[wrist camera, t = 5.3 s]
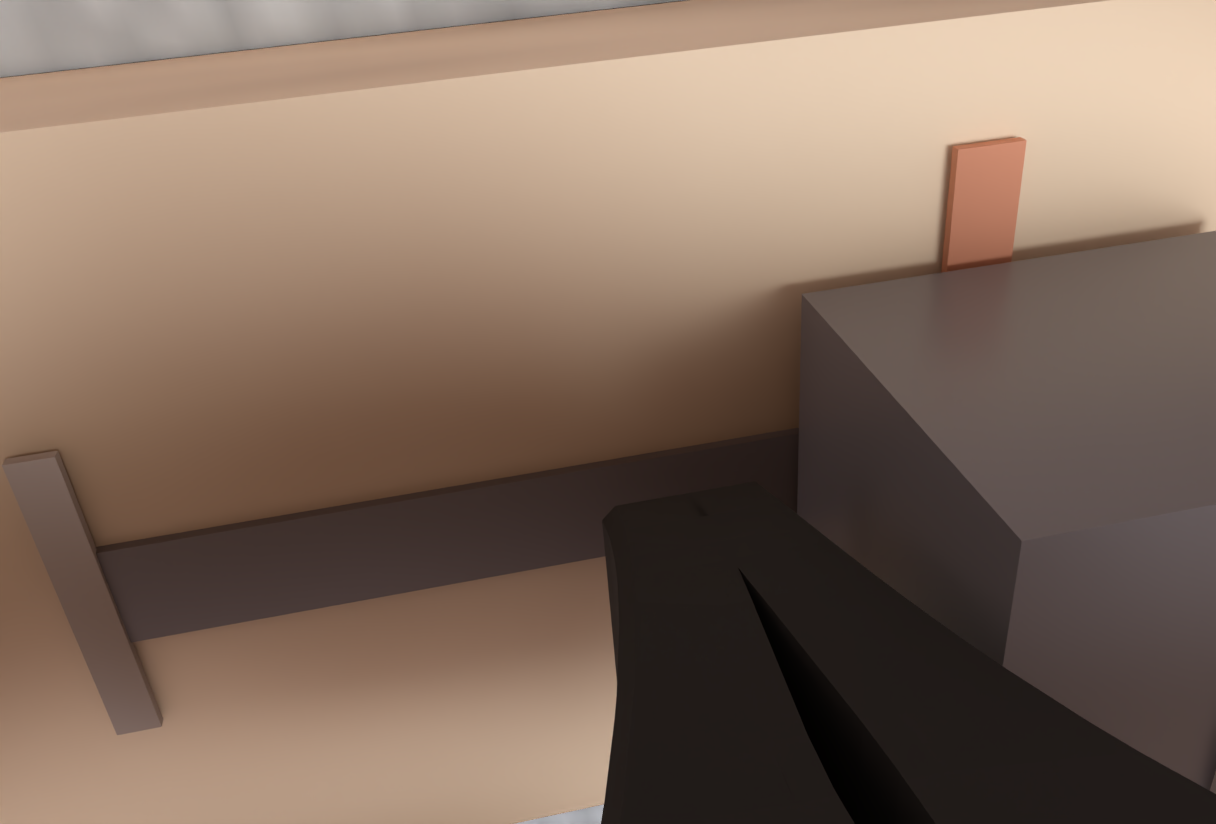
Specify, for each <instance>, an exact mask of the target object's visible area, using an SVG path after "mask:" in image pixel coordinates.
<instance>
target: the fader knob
mask: <svg viewBox="0 0 1216 824" xmlns="http://www.w3.org/2000/svg"><path fill="white" fill-rule="evenodd" d="M797 514H798V515H799V516H801V517H802V518H803V519H804V520H806V521H807V522H808V523H809V524H811V525H812V526H813V527H814V528H816V529H817V530H818V531H820V532H821V533H822V534H823V535H825V536H826V537H827V538H828V539H830V540H831V541H832V542H833V543H835V544H836V545H837V546H839V547H840V548H841V549H842V550H844V551H845V552H846V553H848V554H849V555H850V556H851V557H853V558H854V559H855V560H857V561H858V562H859V563H861V564H862V565H863V566H864V567H866V568H867V569H868V570H870V571H871V572H872V573H873V574H875V575H876V576H877V577H879V578H880V579H881V580H883V581H884V582H885V583H887V584H888V585H889V586H891V587H892V588H893V589H895V590H896V591H897V592H899V593H900V594H901V595H903V596H904V597H905V598H907V599H908V600H909V601H911V602H912V603H914V604H915V605H916V606H918V607H919V608H921V609H922V610H923V611H925V612H926V613H927V614H929V615H930V616H932V617H933V618H934V619H936V620H937V621H939V622H940V623H941V624H943V625H944V626H945V627H947V628H948V629H950V630H951V631H952V632H954V633H955V634H957V635H958V636H959V637H961V638H962V639H964V640H965V641H966V642H968V643H969V644H971V645H972V646H974V647H975V648H977V649H978V650H980V651H981V652H982V653H984V654H985V655H987V656H988V657H990V658H991V659H993V660H994V661H996V662H997V663H999V664H1000V665H1001V666H1003V667H1005V668H1006V669H1008V670H1009V671H1011V672H1012V673H1014V674H1015V675H1017V676H1019V677H1020V678H1022V679H1023V680H1025V681H1026V682H1028V683H1029V684H1031V685H1033V686H1034V687H1036V688H1037V689H1039V690H1040V691H1042V692H1043V693H1045V694H1047V695H1048V696H1050V697H1051V698H1053V699H1054V700H1056V701H1057V702H1059V703H1061V704H1062V705H1064V706H1065V707H1067V708H1068V709H1070V710H1071V711H1073V712H1075V713H1076V714H1078V715H1079V716H1081V717H1082V718H1084V719H1086V720H1087V721H1089V722H1091V723H1092V724H1094V725H1095V726H1097V727H1099V728H1100V729H1102V730H1104V731H1105V732H1107V733H1109V734H1111V735H1112V736H1114V737H1116V738H1117V739H1119V740H1121V741H1122V742H1124V743H1126V744H1127V745H1129V746H1131V747H1132V748H1134V749H1136V750H1137V751H1139V752H1141V753H1143V754H1144V755H1146V756H1148V757H1150V758H1152V759H1153V760H1155V761H1157V762H1159V763H1161V764H1162V765H1164V766H1166V767H1168V768H1170V769H1171V770H1173V771H1175V772H1177V773H1179V774H1180V775H1182V776H1184V777H1186V778H1188V779H1190V780H1191V781H1193V782H1195V783H1197V784H1199V785H1200V786H1202V787H1204V788H1206V789H1208V790H1209V791H1211V792H1213V793H1215V794H1216V231H1211V232H1204V233H1198V234H1191V235H1185V236H1178V237H1171V238H1165V239H1158V240H1152V241H1145V242H1139V243H1132V244H1126V245H1119V246H1112V247H1106V248H1099V249H1093V250H1086V251H1080V252H1073V253H1067V254H1060V255H1053V256H1047V257H1040V258H1034V259H1027V260H1021V261H1014V262H1008V263H1001V264H994V265H988V266H981V267H975V268H968V269H962V270H955V271H949V272H942V273H935V274H929V275H922V276H916V277H909V278H903V279H896V280H890V281H883V282H876V283H870V284H863V285H857V286H850V287H844V288H837V289H831V290H824V291H817V292H811V293H804V294H802V304H801V352H800V400H799V448H798V495H797Z"/></svg>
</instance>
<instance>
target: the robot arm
mask: <svg viewBox="0 0 1216 824" xmlns="http://www.w3.org/2000/svg"><path fill="white" fill-rule="evenodd" d="M602 525H603V536H604V547H605V558H606V569H607V579H608V590H609V601H610V612H611V623H612V633H613V644H614V655H615V666H616V677H617V696H616V708H615V719H614V727H613V735H612V744H611V752H610V760H609V768H608V776H607V785H606V793H605V801H604V808H603V815H602V821H601V824H1216V794H1215V793H1213V792H1211V791H1209V790H1208V789H1206V788H1204V787H1202V786H1200V785H1199V784H1197V783H1195V782H1193V781H1191V780H1190V779H1188V778H1186V777H1184V776H1182V775H1180V774H1179V773H1177V772H1175V771H1173V770H1171V769H1170V768H1168V767H1166V766H1164V765H1162V764H1161V763H1159V762H1157V761H1155V760H1153V759H1152V758H1150V757H1148V756H1146V755H1144V754H1143V753H1141V752H1139V751H1137V750H1136V749H1134V748H1132V747H1131V746H1129V745H1127V744H1126V743H1124V742H1122V741H1121V740H1119V739H1117V738H1116V737H1114V736H1112V735H1111V734H1109V733H1107V732H1105V731H1104V730H1102V729H1100V728H1099V727H1097V726H1095V725H1094V724H1092V723H1091V722H1089V721H1087V720H1086V719H1084V718H1082V717H1081V716H1079V715H1078V714H1076V713H1075V712H1073V711H1071V710H1070V709H1068V708H1067V707H1065V706H1064V705H1062V704H1061V703H1059V702H1057V701H1056V700H1054V699H1053V698H1051V697H1050V696H1048V695H1047V694H1045V693H1043V692H1042V691H1040V690H1039V689H1037V688H1036V687H1034V686H1033V685H1031V684H1029V683H1028V682H1026V681H1025V680H1023V679H1022V678H1020V677H1019V676H1017V675H1015V674H1014V673H1012V672H1011V671H1009V670H1008V669H1006V668H1005V667H1003V666H1001V665H1000V664H999V663H997V662H996V661H994V660H993V659H991V658H990V657H988V656H987V655H985V654H984V653H982V652H981V651H980V650H978V649H977V648H975V647H974V646H972V645H971V644H969V643H968V642H966V641H965V640H964V639H962V638H961V637H959V636H958V635H957V634H955V633H954V632H952V631H951V630H950V629H948V628H947V627H945V626H944V625H943V624H941V623H940V622H939V621H937V620H936V619H934V618H933V617H932V616H930V615H929V614H927V613H926V612H925V611H923V610H922V609H921V608H919V607H918V606H916V605H915V604H914V603H912V602H911V601H909V600H908V599H907V598H905V597H904V596H903V595H901V594H900V593H899V592H897V591H896V590H895V589H893V588H892V587H891V586H889V585H888V584H887V583H885V582H884V581H883V580H881V579H880V578H879V577H877V576H876V575H875V574H873V573H872V572H871V571H870V570H868V569H867V568H866V567H864V566H863V565H862V564H861V563H859V562H858V561H857V560H855V559H854V558H853V557H851V556H850V555H849V554H848V553H846V552H845V551H844V550H842V549H841V548H840V547H839V546H837V545H836V544H835V543H833V542H832V541H831V540H830V539H828V538H827V537H826V536H825V535H823V534H822V533H821V532H820V531H818V530H817V529H816V528H814V527H813V526H812V525H811V524H809V523H808V522H807V521H806V520H804V519H803V518H802V517H801V516H799V515H798V514H797V513H795V512H794V511H793V510H792V509H790V508H789V507H788V506H787V505H785V504H784V503H783V502H781V501H780V500H779V499H777V498H776V497H775V496H774V495H772V494H771V493H770V492H768V491H767V490H766V489H765V488H763V487H762V486H761V485H759V484H758V483H757V482H755V481H754V482H748V483H742V484H737V485H731V486H725V487H719V488H714V489H708V490H702V491H697V492H691V493H685V494H680V495H674V496H668V497H663V498H657V499H651V500H646V501H640V502H634V503H628V504H623V505H617V506H615V507H614V508H613V509H612V510H611V511H610V512H609V513H608V514H607V515H606V516H605V518H604V519H603V520H602Z"/></svg>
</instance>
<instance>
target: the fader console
mask: <svg viewBox="0 0 1216 824" xmlns="http://www.w3.org/2000/svg"><path fill="white" fill-rule="evenodd" d="M1211 231H1216V0H688V1H679V2H670V3H661V4H652V5H644V6H635V7H626V8H617V9H608V10H599V11H590V12H582V13H573V14H564V15H555V16H546V17H537V18H528V19H520V20H511V21H502V22H493V23H484V24H475V25H466V26H458V27H449V28H440V29H431V30H422V31H413V32H404V33H395V34H387V35H378V36H369V37H360V38H351V39H342V40H333V41H325V42H316V43H307V44H298V45H289V46H280V47H271V48H263V49H254V50H245V51H236V52H227V53H218V54H209V55H201V56H192V57H183V58H174V59H165V60H156V61H147V62H139V63H130V64H121V65H112V66H103V67H94V68H85V69H76V70H68V71H59V72H50V73H41V74H32V75H23V76H14V77H6V78H0V824H514V823H518V822H523V821H528V820H533V819H537V818H542V817H547V816H551V815H556V814H561V813H565V812H570V811H575V810H579V809H584V808H589V807H593V806H598V805H603V804H604V801H605V793H606V785H607V776H608V768H609V760H610V752H611V744H612V735H613V727H614V719H615V708H616V696H617V677H616V666H615V655H614V644H613V633H612V623H611V612H610V601H609V590H608V579H607V569H606V558H605V547H604V536H603V525H602V520H603V519H604V518H605V516H606V515H607V514H608V513H609V512H610V511H611V510H612V509H613V508H614V507H615V506H617V505H623V504H628V503H634V502H640V501H646V500H651V499H657V498H663V497H668V496H674V495H680V494H685V493H691V492H697V491H702V490H708V489H714V488H719V487H725V486H731V485H737V484H742V483H748V482H754V481H755V482H757V483H758V484H759V485H761V486H762V487H763V488H765V489H766V490H767V491H768V492H770V493H771V494H772V495H774V496H775V497H776V498H777V499H779V500H780V501H781V502H783V503H784V504H785V505H787V506H788V507H789V508H790V509H792V510H793V511H794V512H795V513H797V495H798V448H799V400H800V352H801V304H802V294H804V293H811V292H817V291H824V290H831V289H837V288H844V287H850V286H857V285H863V284H870V283H876V282H883V281H890V280H896V279H903V278H909V277H916V276H922V275H929V274H935V273H942V272H949V271H955V270H962V269H968V268H975V267H981V266H988V265H994V264H1001V263H1008V262H1014V261H1021V260H1027V259H1034V258H1040V257H1047V256H1053V255H1060V254H1067V253H1073V252H1080V251H1086V250H1093V249H1099V248H1106V247H1112V246H1119V245H1126V244H1132V243H1139V242H1145V241H1152V240H1158V239H1165V238H1171V237H1178V236H1185V235H1191V234H1198V233H1204V232H1211Z"/></svg>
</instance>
